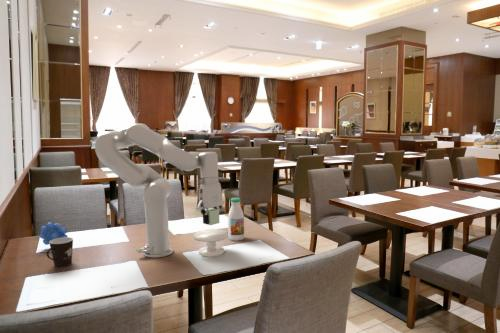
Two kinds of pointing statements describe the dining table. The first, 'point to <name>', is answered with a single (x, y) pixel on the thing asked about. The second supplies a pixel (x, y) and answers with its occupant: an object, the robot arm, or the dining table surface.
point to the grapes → (52, 232)
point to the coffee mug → (61, 251)
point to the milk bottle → (235, 221)
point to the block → (213, 216)
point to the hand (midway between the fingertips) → (211, 221)
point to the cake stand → (211, 241)
